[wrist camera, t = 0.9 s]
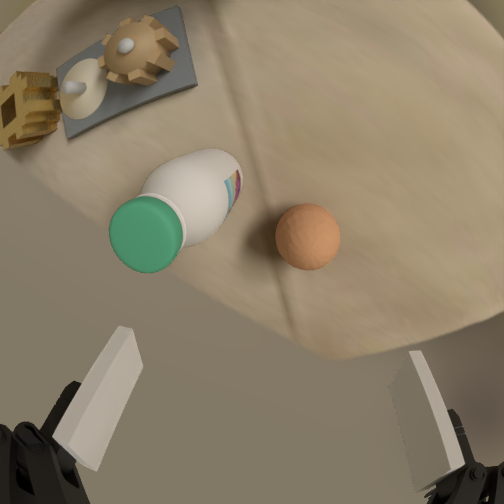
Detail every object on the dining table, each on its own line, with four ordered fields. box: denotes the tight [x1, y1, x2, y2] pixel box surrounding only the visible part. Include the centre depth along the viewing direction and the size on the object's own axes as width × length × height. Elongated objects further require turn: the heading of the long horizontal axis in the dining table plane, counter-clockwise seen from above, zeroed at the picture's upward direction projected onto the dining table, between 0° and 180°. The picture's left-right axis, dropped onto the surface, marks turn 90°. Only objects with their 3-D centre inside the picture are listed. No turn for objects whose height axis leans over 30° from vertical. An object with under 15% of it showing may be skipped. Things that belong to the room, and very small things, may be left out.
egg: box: [275, 204, 340, 270], centre depth 31 cm, size 7×7×8 cm
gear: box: [0, 71, 62, 151], centre depth 26 cm, size 10×10×8 cm
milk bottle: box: [109, 149, 243, 273], centre depth 24 cm, size 8×8×20 cm
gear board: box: [56, 6, 198, 139], centre depth 24 cm, size 12×20×7 cm, turn 102°
